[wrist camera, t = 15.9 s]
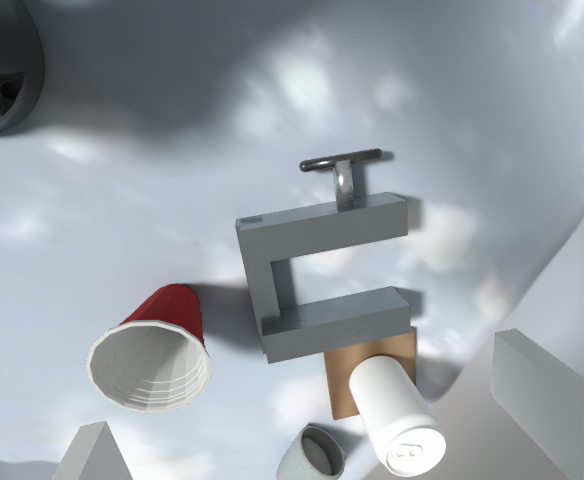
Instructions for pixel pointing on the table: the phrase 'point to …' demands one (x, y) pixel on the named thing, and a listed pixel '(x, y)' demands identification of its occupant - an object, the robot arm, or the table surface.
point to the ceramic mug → (312, 457)
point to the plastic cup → (153, 355)
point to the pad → (350, 357)
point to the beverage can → (396, 417)
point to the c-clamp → (313, 239)
